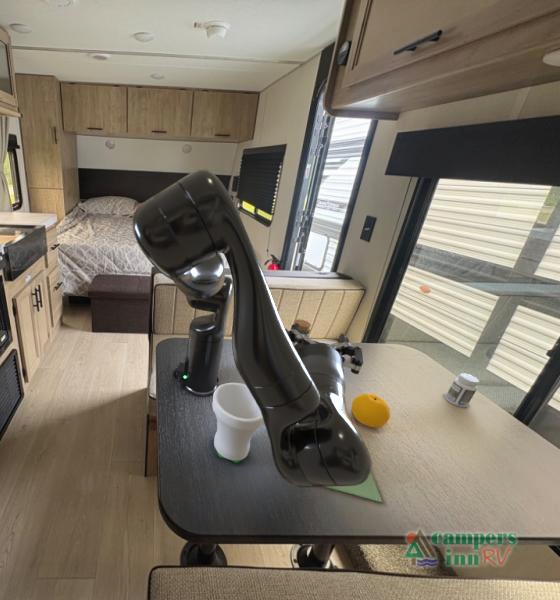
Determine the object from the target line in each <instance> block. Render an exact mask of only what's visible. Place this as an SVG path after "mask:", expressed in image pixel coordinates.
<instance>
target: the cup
mask: <svg viewBox="0 0 560 600" xmlns="http://www.w3.org/2000/svg"><path fill="white" fill-rule="evenodd" d="M212 411H213V413H214V414H215V417H216V422H217V423H216V425H217V426H216V432H215V434H214V438H213V445H214V449H215V450H216V453H217V455H218V457H219V458H220V459H226V460H229V461H231V462H232V463H234V464H238V463H239V462H241V461H242V460H244V459H246V458H247V456H248V455H249V453H250V448H251V440H252V437H253V435H254V434H255V432H256V431H257V430H258V429H259V428H262V426H264V425H265V424H264V420H263V417H262V415H261V412H260V409H259V407H258V406H257V404H256V402H255V400H254V398H253V397H252V395H251V393H250V391H249V390H248V388H247V386H246V384H245V383H242V382H226V383H222V384H220V385H218V386H217V387H216V390H215V391H214V393H213V396H212Z"/></svg>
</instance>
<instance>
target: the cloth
mask: <svg viewBox="0 0 560 600" xmlns="http://www.w3.org/2000/svg"><path fill="white" fill-rule="evenodd" d="M325 488H326V489H330V490H334V491H338V492H341V493H345V494H348V495H351V496H356V497H359V498H363V499H366V500H370V501H374V502H376V503H380V504H382V503H383V500H382V498H381V495H380V492H379V490H378V487H377V484H376V483H375V480H374V477H373V473H372V472H371V473H370V475H369V477H368V478H367V480H366V481H365V482H363V483H362V484H360V485H355V486H334V487H325Z"/></svg>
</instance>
